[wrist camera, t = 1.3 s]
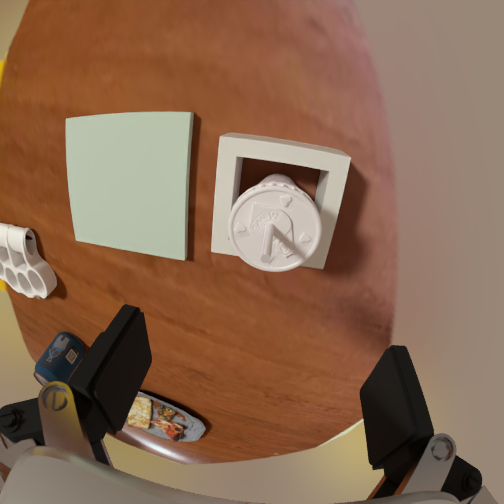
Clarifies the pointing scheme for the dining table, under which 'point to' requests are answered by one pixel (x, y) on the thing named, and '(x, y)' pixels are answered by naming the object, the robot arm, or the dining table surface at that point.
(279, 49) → the dining table surface
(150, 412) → the food plate
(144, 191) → the serving mat
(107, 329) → the robot arm
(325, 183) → the drink caddy
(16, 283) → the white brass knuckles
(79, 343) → the soda can
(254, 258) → the smoothie
